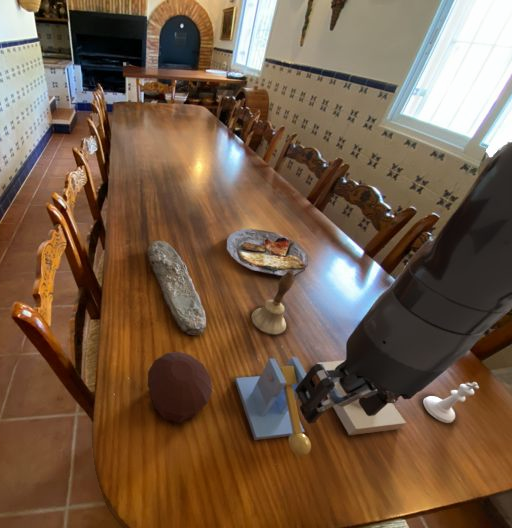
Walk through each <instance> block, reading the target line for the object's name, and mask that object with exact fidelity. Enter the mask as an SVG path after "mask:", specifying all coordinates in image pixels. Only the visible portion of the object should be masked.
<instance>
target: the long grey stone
mask: <svg viewBox="0 0 512 528" xmlns="http://www.w3.org/2000/svg"><path fill="white" fill-rule="evenodd" d="M147 256H148V260H149V263H150V266H151V268H152V271H153V273H154V274H155V276H156V279H157V281H158V283H159V286H160V289H161V292H162V294H163V299H164V301H165V302H166V304H167V306H168V308H169V310H170V312H171V314H172V318H174V320H175V322H176V324H177V326H178V327H179V328H180V329H181V331H182V332H185V334H188V335H191V336H199V335H202V334H203V333H204V332H205V330H206V328H207V316H206V309H204V307H203V303H202V302H201V298H200V295H199V293H198V292H197V291H196V288H195V285H194V283H193V280H192V278H191V276H190V274H189V271H188V267H187V265H186V263H185V262H184V261H183V260H182V257H181V256H180V255H179V254H178V253H177V251H176V250H175V249H174V247H172V246H171V245H170V244H169V243H168V242H166V241H164V240H155V241H153V242H151V244H150V245H148V248H147Z"/></svg>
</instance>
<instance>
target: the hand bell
mask: <svg viewBox="0 0 512 528" xmlns="http://www.w3.org/2000/svg"><path fill="white" fill-rule="evenodd" d="M294 277H295V276H294V271H292V270H288V271H287V273H286V274H284V275H283V276H282V275H281V278H280V279H279V282H278V286H277V292H276V295H275V296H274V297H273V299H267V301H266V302H265V303H264V304H263V306H262V307H259V308H256V309H254V311H252V313H251V316H250V317H251V322H252V324H253V325H254V326H255V327H256V328H257V329H258V330H259V331H261V332H263V333H265V334H267V335H268V334H269V335H281V334H282V333H284V332H285V331H286V328H287V322H286V319H285V318H284V313H285V306H284V305H283V303H282V302H283V299H284V297H285V295H286V293H288V292H289V290H290V289H291V288H292V286H293V284H294Z"/></svg>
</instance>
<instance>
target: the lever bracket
mask: <svg viewBox="0 0 512 528" xmlns="http://www.w3.org/2000/svg"><path fill="white" fill-rule="evenodd" d="M286 366H294V371H295V375H296V380H297V384H292V387H293V392H294V397H295V401H297V399H299V397H298V395H297V393H296V391H295V389H296V388H297V386H298V385H299V384H300V382H301V381H302V380H303V379H304V377H305V376H306V375H307V372H306V371H305V369H304V367H303V364H302V363H301V361H300V360H299V358H298V357H297V356H291V357H290V359H289V360H288V362H287V364H286ZM279 367H280V366H279V364H278V362H277V360H276V358H268V360H267V363H266V364H265V367H264V368H263V370H262V372H261V374H260V375H257V376H256V375H255V376H245V377H236V378H235V380H234V384H235V386H236V389H237V392H238V395H239V398H240V401H241V404H242V406H243V407H242V408H243V411H244V412H245V415H246V419H247V421H248V425H249V427H250V430H251V433H252V436H253V440H254V441H257V440H258V441H259V440H268V439H269V440H270V439H276V438H285V437H290V435H291V434H292V433H293V432H292V427H291V422H290V417H289V412H288V407H287V402H286V397H285V392H284V386H285V384H286V381H285V379H284V376H283V374H282V372H281V370H280V368H279ZM300 425H301V430H302V433H303V434H305V429H304V428H303V425H302V422H300Z"/></svg>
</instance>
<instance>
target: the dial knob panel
mask: <svg viewBox="0 0 512 528" xmlns="http://www.w3.org/2000/svg"><path fill="white" fill-rule="evenodd" d="M345 360H346V359H345ZM345 360H333V361H322V362H321V361H320V362H316V363H315V365H316V364H322V365H323V366H324V368H325V370H335V368H336V367H337V366H338V365H340V364H341V363H342V362H344V361H345ZM334 384H335V388H336V389H337V391H338V393H339V394H340V396H341V397H343V396H345V395H347V394H346V393H345V391H344V390H343V388H342V387H341V385H340V384H339V382H336V383H334ZM326 397H327V400H328V399H329V398H330V395H329V393H328V394H327V395H326ZM332 408H333V410H334V411H335V413H336V415H337V417H338V419H339V420H340V422H341V423H342V425H343V427H344V429H345V430H346V433H347V435H348V436H354V435H361V434H369V433H370V434H371V433H377V432H386V431H394V430H399V429H400V428H402V427H403V426H405V424H407V422H406V421H405V419H404V418H403V417H402V415H401V414H400V412H399V411H398V410H397V408H396V407H395V405H394V403H388V404H387V405H386V406H384V407H383V408H382V409H381V410H380V411H379V412H378V413H377V414H376V415H374V416H368V415H367V414H366V413H365V412H364V410H363V409H362V407H361V405H360V404H359V399H358V400H356V401H354V402H352V403H350V404H348V405H346V406H344V407H341V406H338V405H335V406H333V407H332Z"/></svg>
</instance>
